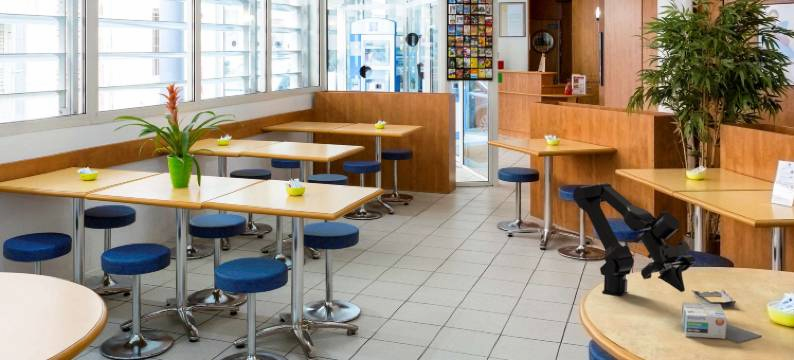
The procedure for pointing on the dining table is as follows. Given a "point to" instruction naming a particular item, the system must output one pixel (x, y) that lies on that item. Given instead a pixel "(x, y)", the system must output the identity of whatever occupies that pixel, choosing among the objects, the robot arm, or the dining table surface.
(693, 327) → the light bulb box
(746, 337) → the rubber mat
